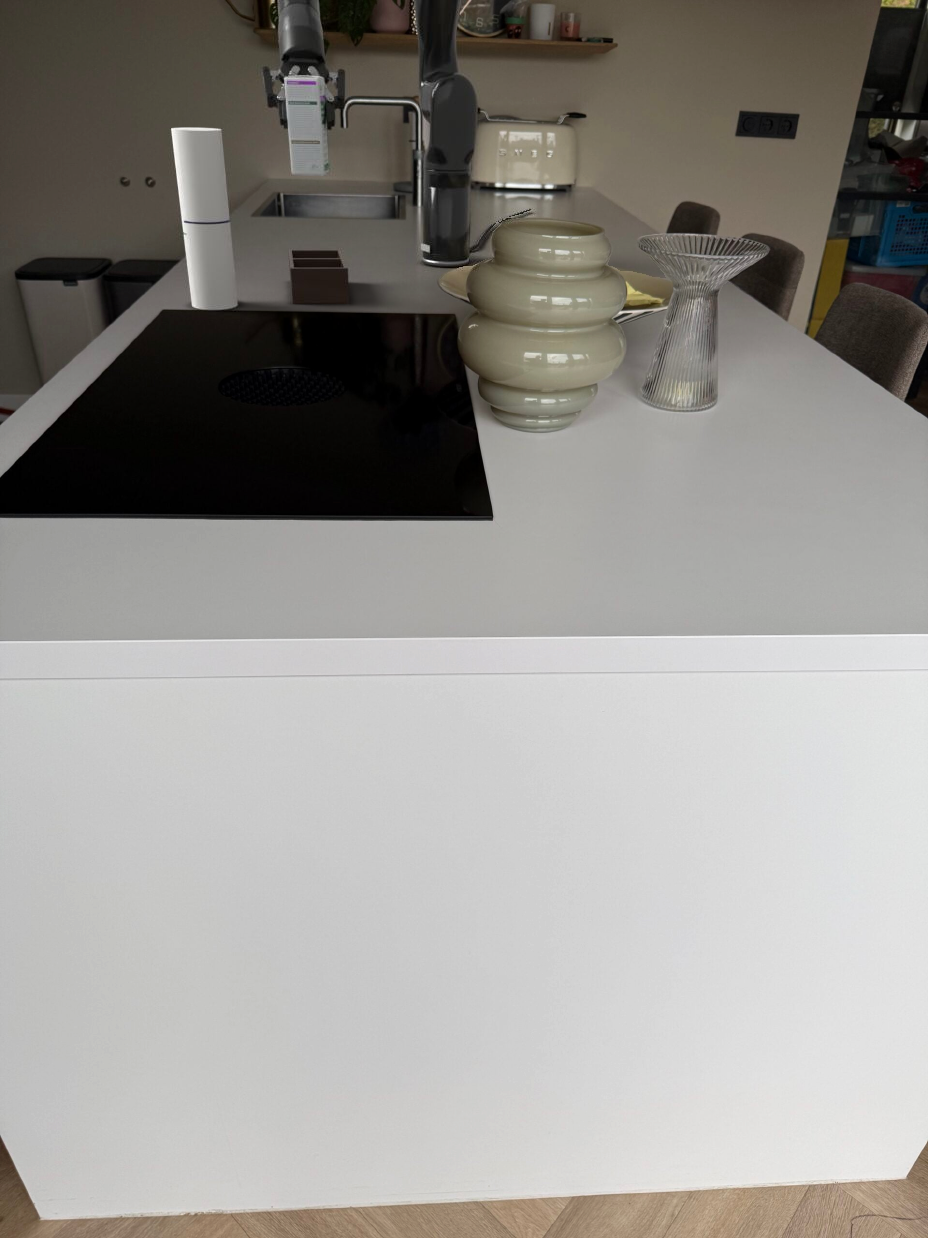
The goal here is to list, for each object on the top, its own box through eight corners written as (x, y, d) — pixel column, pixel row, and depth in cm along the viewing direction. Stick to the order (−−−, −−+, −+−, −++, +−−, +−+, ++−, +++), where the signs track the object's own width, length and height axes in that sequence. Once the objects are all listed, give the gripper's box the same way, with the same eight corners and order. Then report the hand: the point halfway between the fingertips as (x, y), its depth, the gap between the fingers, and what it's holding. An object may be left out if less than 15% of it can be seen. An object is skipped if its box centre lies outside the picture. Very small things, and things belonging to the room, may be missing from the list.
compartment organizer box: (290, 282, 165) (288, 249, 162) (341, 281, 166) (340, 249, 163) (292, 303, 150) (290, 268, 147) (349, 303, 151) (347, 267, 148)
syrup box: (325, 176, 154) (320, 75, 146) (290, 174, 154) (283, 74, 146) (330, 172, 159) (325, 75, 151) (296, 171, 159) (290, 74, 151)
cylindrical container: (211, 311, 143) (192, 130, 130) (182, 304, 146) (160, 127, 134) (247, 304, 148) (231, 129, 135) (217, 298, 151) (200, 126, 139)
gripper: (256, 21, 150) (261, 106, 146) (344, 24, 153) (352, 108, 149) (259, 59, 157) (265, 141, 154) (343, 62, 160) (350, 143, 156)
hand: (307, 125), depth 151 cm, fingers closed on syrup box, 6 cm apart
